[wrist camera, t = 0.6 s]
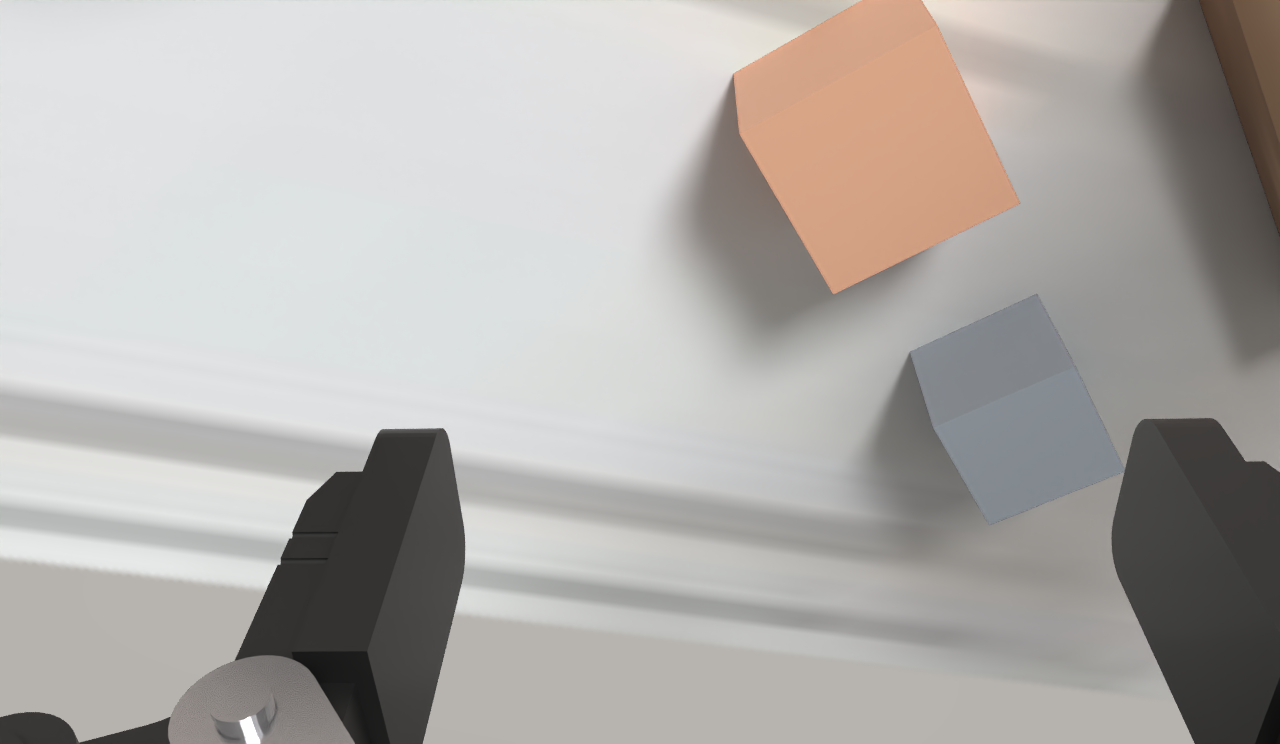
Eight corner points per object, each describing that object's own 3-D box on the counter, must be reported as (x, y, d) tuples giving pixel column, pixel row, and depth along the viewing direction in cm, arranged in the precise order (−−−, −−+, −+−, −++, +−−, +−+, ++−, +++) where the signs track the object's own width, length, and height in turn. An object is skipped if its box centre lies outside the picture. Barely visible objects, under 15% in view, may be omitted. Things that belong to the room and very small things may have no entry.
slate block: (1036, 292, 37) (1075, 366, 33) (1083, 391, 39) (1125, 471, 35) (909, 350, 38) (933, 427, 35) (961, 443, 40) (989, 525, 37)
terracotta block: (904, -26, 32) (937, 24, 28) (980, 134, 34) (1020, 203, 30) (733, 72, 34) (739, 134, 29) (816, 218, 36) (833, 294, 32)
